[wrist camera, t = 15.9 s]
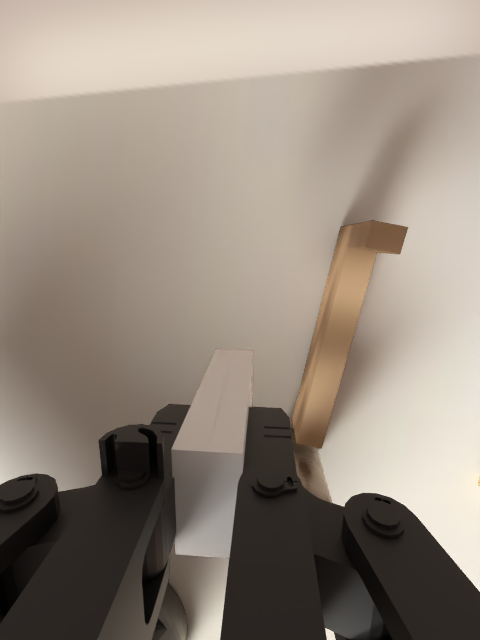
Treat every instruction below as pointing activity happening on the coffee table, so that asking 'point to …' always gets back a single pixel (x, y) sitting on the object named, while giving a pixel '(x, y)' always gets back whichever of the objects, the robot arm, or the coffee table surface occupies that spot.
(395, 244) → the gate
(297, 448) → the hinge post
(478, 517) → the coffee table surface
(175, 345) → the coffee table surface
